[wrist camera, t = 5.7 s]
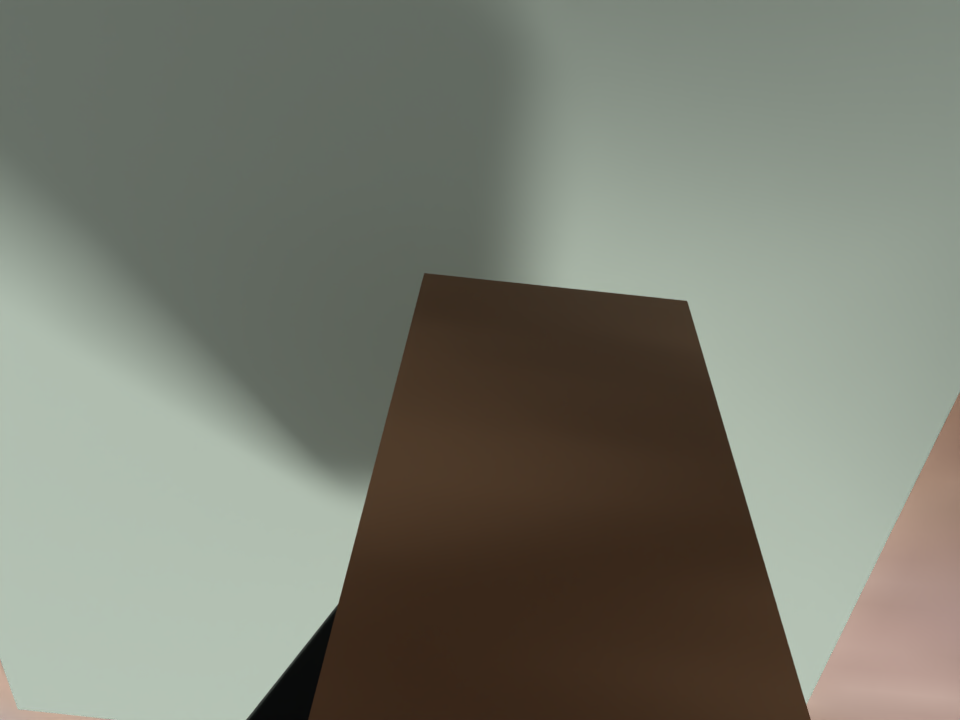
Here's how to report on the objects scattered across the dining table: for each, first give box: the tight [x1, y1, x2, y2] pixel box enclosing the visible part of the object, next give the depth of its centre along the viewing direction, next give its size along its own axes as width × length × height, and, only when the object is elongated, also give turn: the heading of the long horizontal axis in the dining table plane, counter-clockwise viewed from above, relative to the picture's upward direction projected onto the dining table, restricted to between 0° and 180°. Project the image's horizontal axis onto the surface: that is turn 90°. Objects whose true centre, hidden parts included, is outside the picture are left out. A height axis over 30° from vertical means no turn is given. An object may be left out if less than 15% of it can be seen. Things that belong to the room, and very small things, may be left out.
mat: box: [0, 0, 960, 720], centre depth 11 cm, size 14×16×1 cm
